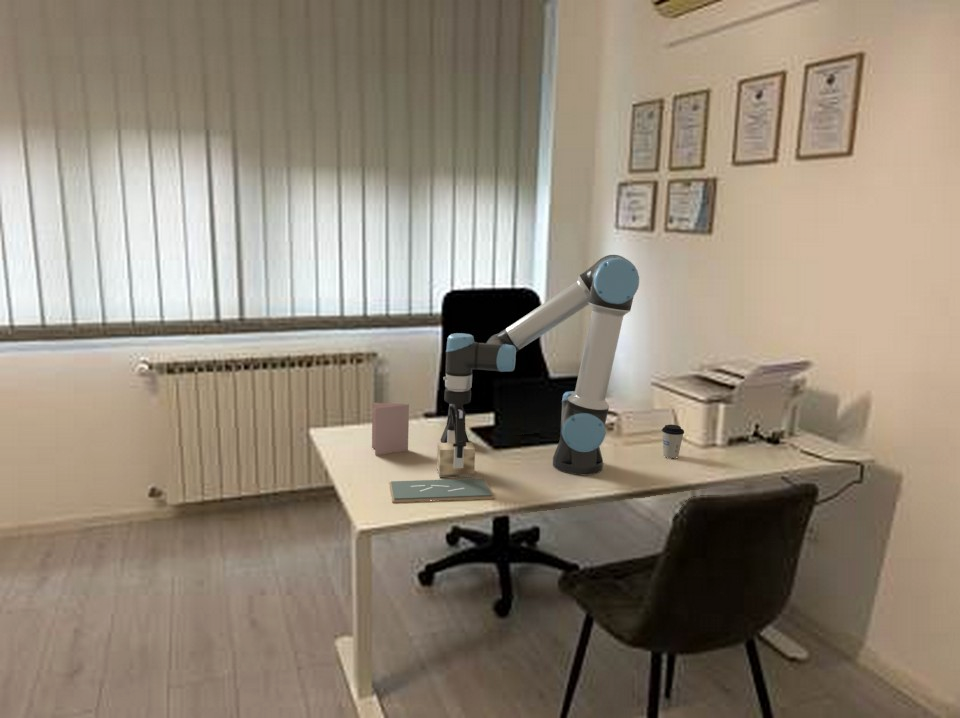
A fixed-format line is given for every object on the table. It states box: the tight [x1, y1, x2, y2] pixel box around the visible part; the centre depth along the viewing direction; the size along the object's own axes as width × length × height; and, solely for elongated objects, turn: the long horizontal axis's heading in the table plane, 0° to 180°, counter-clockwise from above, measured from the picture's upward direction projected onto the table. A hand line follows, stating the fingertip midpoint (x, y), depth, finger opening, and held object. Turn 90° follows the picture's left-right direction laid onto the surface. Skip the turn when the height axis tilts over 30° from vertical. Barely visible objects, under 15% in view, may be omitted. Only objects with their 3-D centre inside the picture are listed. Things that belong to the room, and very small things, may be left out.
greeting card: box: [371, 402, 410, 456], centre depth 228 cm, size 11×7×15 cm, turn 89°
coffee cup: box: [661, 424, 685, 459], centre depth 234 cm, size 7×7×10 cm
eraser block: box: [436, 441, 476, 478], centre depth 212 cm, size 10×6×8 cm, turn 100°
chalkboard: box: [388, 477, 495, 504], centre depth 200 cm, size 27×13×1 cm, turn 101°
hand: (454, 459), depth 212 cm, fingers open, 13 cm apart
